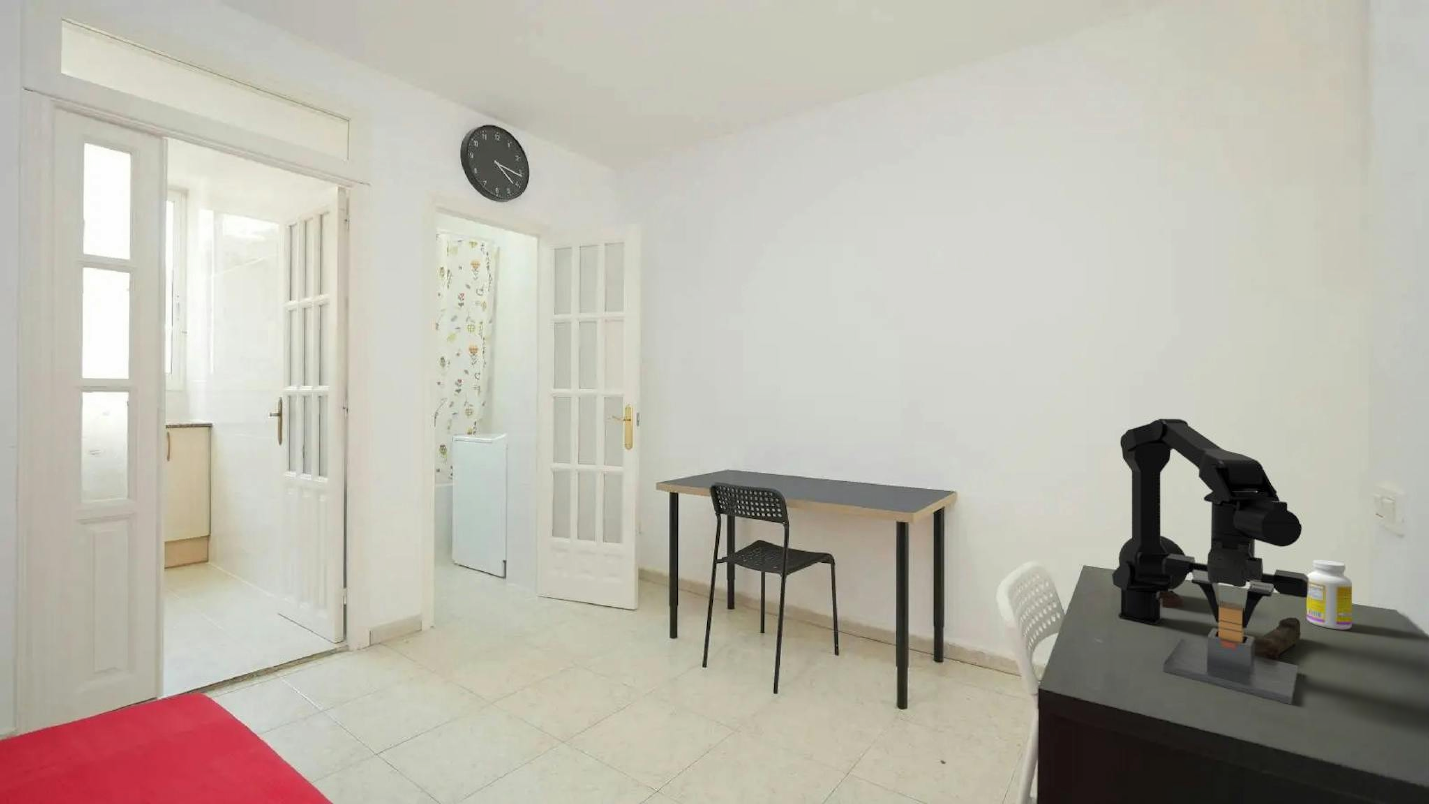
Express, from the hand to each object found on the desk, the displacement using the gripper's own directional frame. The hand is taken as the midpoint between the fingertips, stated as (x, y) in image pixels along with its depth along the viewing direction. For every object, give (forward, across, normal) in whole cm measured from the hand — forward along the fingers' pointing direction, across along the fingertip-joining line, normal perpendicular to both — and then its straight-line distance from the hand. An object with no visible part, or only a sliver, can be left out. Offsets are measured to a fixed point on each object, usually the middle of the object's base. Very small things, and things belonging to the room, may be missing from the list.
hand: (1231, 624), depth 106 cm
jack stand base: (+8, 0, 0) cm, 8 cm away
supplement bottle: (+8, +11, +44) cm, 46 cm away
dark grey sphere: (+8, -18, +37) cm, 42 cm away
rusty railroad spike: (+8, +5, +20) cm, 22 cm away
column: (+6, 0, 0) cm, 6 cm away
